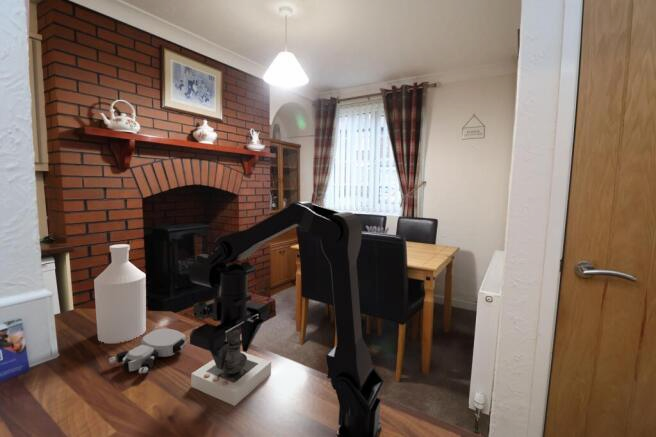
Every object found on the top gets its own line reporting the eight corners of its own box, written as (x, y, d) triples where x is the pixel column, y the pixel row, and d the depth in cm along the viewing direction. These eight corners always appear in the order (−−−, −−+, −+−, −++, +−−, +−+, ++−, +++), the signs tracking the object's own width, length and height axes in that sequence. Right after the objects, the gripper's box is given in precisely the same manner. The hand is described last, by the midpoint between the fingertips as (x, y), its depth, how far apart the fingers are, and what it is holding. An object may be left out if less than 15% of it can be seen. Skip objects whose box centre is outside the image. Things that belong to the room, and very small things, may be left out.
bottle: (91, 332, 88) (87, 244, 85) (139, 320, 97) (136, 240, 94) (102, 348, 80) (98, 252, 77) (153, 333, 89) (151, 246, 86)
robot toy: (145, 386, 69) (195, 348, 82) (143, 367, 68) (194, 332, 82) (105, 372, 73) (160, 338, 87) (103, 354, 72) (158, 323, 86)
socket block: (270, 373, 73) (271, 360, 73) (234, 405, 62) (234, 390, 62) (231, 359, 78) (231, 347, 78) (191, 386, 67) (191, 372, 67)
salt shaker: (240, 384, 67) (240, 330, 65) (214, 380, 68) (214, 327, 66) (250, 368, 73) (251, 318, 71) (226, 365, 73) (226, 316, 72)
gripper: (234, 274, 80) (234, 333, 82) (169, 297, 63) (171, 370, 65) (271, 282, 75) (269, 344, 77) (211, 309, 58) (211, 388, 60)
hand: (233, 359), depth 70 cm, fingers closed on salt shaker, 7 cm apart
